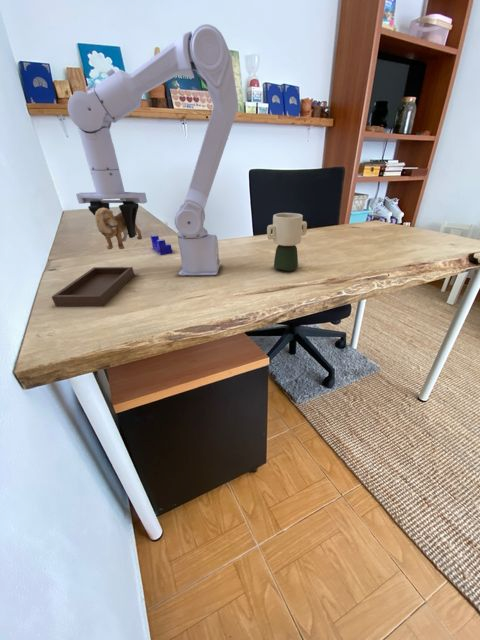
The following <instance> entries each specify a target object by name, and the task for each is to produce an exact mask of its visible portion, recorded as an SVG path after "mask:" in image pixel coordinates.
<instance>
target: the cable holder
mask: <svg viewBox="0 0 480 640" xmlns="http://www.w3.org/2000/svg"><path fill="white" fill-rule="evenodd" d="M150 241H151V246H152V250H153V251H155V252H156V253H158V255H160V256H163V255H169V254H173V248H172V244H171V243H169V242H166V240H165V239H164V238H162V239H161V238H160V237H159V234H153V235H150Z"/></svg>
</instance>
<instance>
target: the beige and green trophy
mask: <svg viewBox="0 0 480 640" xmlns="http://www.w3.org/2000/svg"><path fill="white" fill-rule="evenodd" d="M303 216H304V215H303V214H301V213H296V212H295V213H294V212H278V213H275V214H273V215H272V224H268V225H267V226H266V237H267V238H266V239H267V240H269V241H270V240H272V241H273V243H274V244H277V246H276V249H275V252H274V253H275V254H274V262H273V267H274V268H275V269H278V270H280V271H288V272H289V271H290V272H291V271H295V270H297V269H298V268H299V258H298V247H297V245H299V244H301V242H302V236H305V235H307V228H308V223H307V221H305V220H303V218H304V217H303Z"/></svg>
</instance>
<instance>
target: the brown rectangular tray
mask: <svg viewBox="0 0 480 640" xmlns="http://www.w3.org/2000/svg"><path fill="white" fill-rule="evenodd" d="M133 277H135V273H134V267H133V266H98V267H97V266H94V267H92V268H91V269H89V270H88V271H86V272H85V273H83V274H82V275H80V276H79V277H77V278H76V279H75V280H74V281H72V282H70V283H69V284H67V285H66V286H65V287H63V288H62V289H60V290H59V291H57V292H56V293H55V294H53V295H51V299H52V301H53V304H54V306H55V307H104V306H105V305H106V304H107V303H108V302H110V300H111V299H112V298H113V297H114V296H115V295H116V294H117V293H118V292H119V291H120V290H121V289H122V288H123V287H124V286H125V285H126V284H127V283H128V282H129V281H130V280H131V279H132V278H133Z"/></svg>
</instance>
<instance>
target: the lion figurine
mask: <svg viewBox="0 0 480 640" xmlns="http://www.w3.org/2000/svg"><path fill="white" fill-rule="evenodd" d="M93 217H94V222H95V224H96V227H97V231H98V232H99V233H101V235H102V236H104V238H105V240H106V243H107V244H108V245H107V246H106V249H107V250H112V249H113V248H114V245H113V242H112V238H115V237H116V240H117V247H118V249H119V250H124V249H125V245H124V242H127V239H128V236H129V235H128V232H127V228H126V223H125V220H124V218H123V215H122V213H121V212H119V213H118V214H116V215H114V211H113V210H111V209H110V210H109V209H107V208H100V209H98V210H97V211H96V213H95V215H94V214H93ZM122 233H123V234H122ZM122 235H123V236H122ZM135 236H136V239H137V240H143V236H142V232H141V230H140V229H139V227H138V226H137V224H136V222H135ZM111 237H112V238H111Z"/></svg>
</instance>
